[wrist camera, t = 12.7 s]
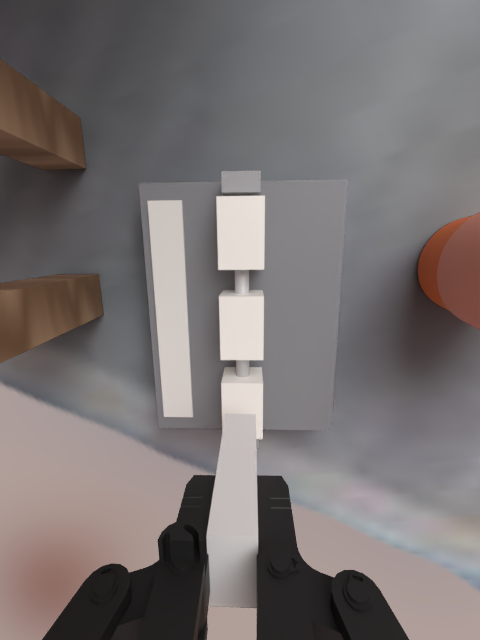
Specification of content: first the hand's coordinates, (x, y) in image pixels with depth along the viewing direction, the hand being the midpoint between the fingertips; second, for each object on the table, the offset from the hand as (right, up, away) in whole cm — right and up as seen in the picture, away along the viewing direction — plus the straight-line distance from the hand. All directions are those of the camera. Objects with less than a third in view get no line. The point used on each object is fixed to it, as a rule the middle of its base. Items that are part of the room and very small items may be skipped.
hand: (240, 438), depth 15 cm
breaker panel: (0, +7, +7) cm, 10 cm away
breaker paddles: (0, +6, +4) cm, 7 cm away
